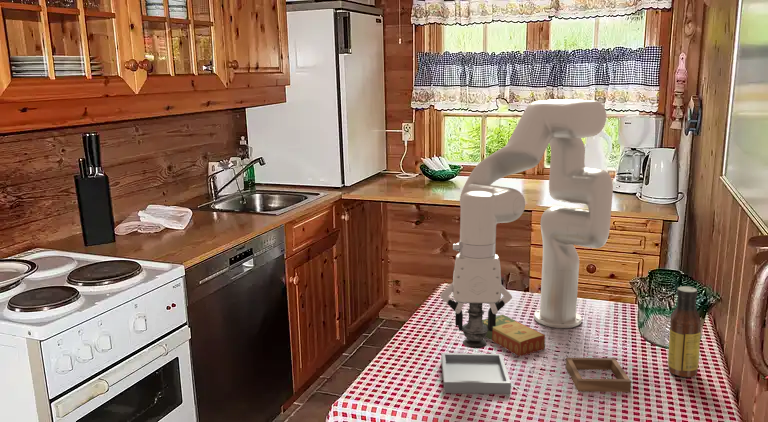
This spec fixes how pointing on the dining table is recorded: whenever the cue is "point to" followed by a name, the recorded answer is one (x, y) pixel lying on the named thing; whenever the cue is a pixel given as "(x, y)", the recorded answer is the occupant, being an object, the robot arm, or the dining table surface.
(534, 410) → the dining table surface
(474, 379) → the tray
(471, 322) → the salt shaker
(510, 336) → the carton
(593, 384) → the wooden square frame
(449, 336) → the dining table surface
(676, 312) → the sauce bottle
